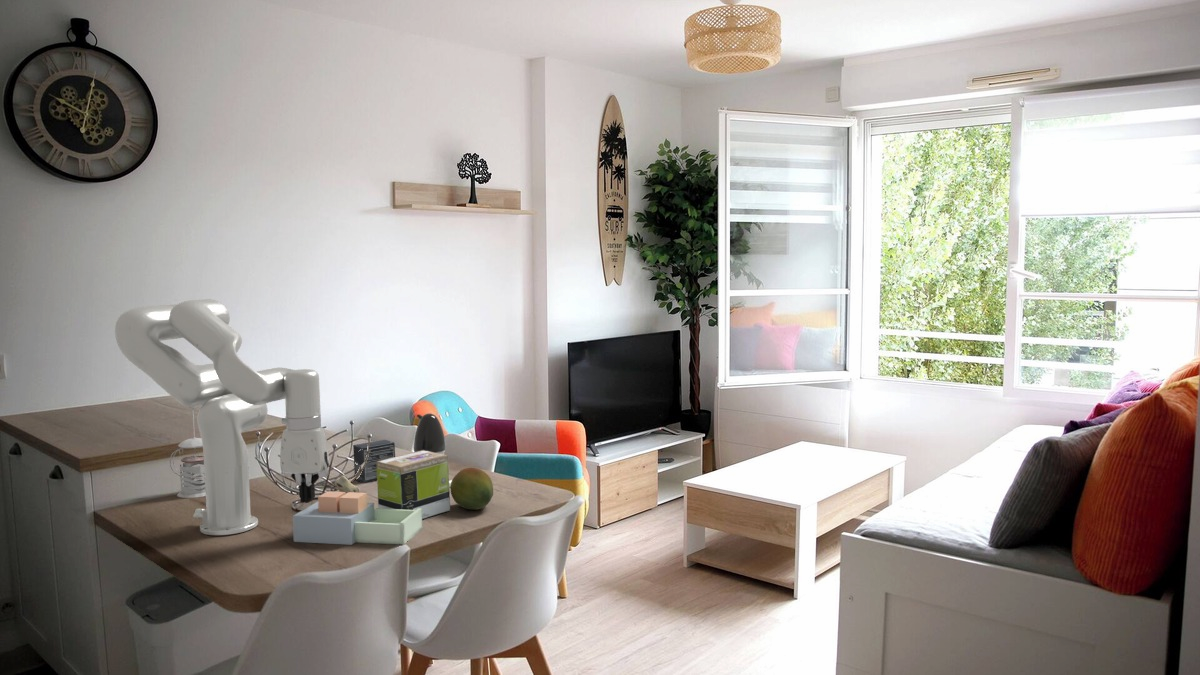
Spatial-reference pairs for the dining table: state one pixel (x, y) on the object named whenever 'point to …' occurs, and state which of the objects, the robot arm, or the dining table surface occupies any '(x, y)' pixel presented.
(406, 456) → the tea box
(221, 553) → the dining table surface
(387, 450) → the small box
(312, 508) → the light blue drawer case
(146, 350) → the robot arm
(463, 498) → the fruit
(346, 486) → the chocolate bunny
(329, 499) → the orange wooden cube
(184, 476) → the french press
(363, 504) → the peach orange cube
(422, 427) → the black rounded cone
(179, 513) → the dining table surface
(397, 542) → the bin
